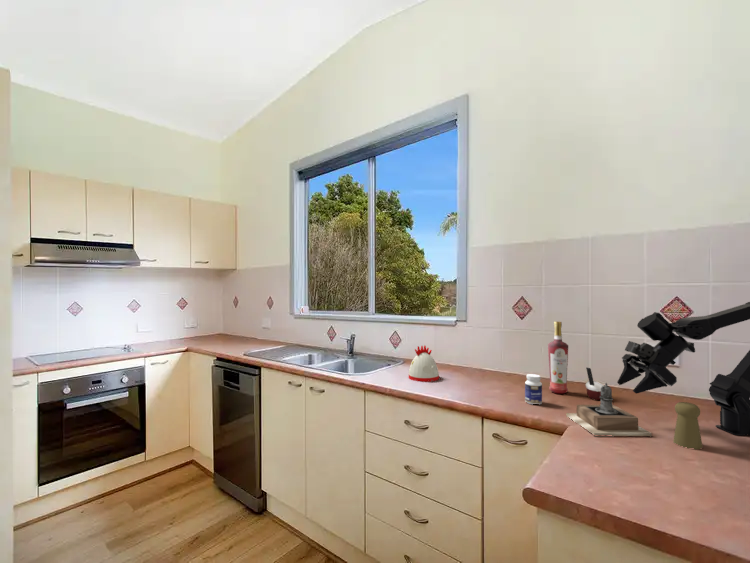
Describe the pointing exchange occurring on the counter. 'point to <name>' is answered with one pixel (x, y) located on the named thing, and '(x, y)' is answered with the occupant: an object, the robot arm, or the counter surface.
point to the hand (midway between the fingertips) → (626, 387)
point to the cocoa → (593, 386)
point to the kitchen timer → (423, 366)
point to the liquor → (558, 362)
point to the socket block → (607, 422)
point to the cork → (687, 426)
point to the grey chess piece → (606, 402)
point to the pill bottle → (533, 389)
